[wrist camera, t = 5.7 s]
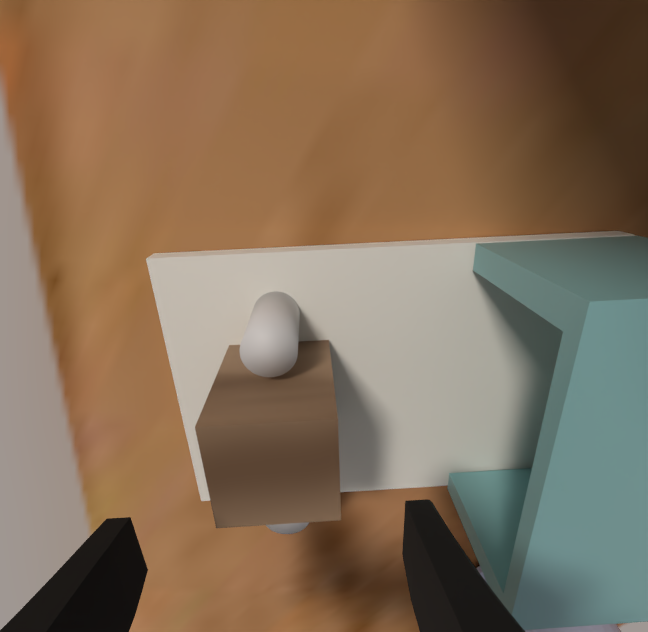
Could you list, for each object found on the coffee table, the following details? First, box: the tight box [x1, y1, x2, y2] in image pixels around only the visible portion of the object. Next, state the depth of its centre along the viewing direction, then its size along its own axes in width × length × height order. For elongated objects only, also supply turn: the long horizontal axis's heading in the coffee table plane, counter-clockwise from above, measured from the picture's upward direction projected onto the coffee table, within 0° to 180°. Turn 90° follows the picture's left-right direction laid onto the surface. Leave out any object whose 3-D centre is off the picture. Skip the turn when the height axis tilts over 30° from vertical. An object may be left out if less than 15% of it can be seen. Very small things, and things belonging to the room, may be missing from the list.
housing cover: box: [447, 236, 648, 630], centre depth 13 cm, size 12×6×6 cm, turn 2°
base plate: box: [146, 231, 634, 534], centre depth 15 cm, size 12×18×4 cm, turn 92°
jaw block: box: [195, 340, 341, 528], centre depth 14 cm, size 4×4×5 cm
